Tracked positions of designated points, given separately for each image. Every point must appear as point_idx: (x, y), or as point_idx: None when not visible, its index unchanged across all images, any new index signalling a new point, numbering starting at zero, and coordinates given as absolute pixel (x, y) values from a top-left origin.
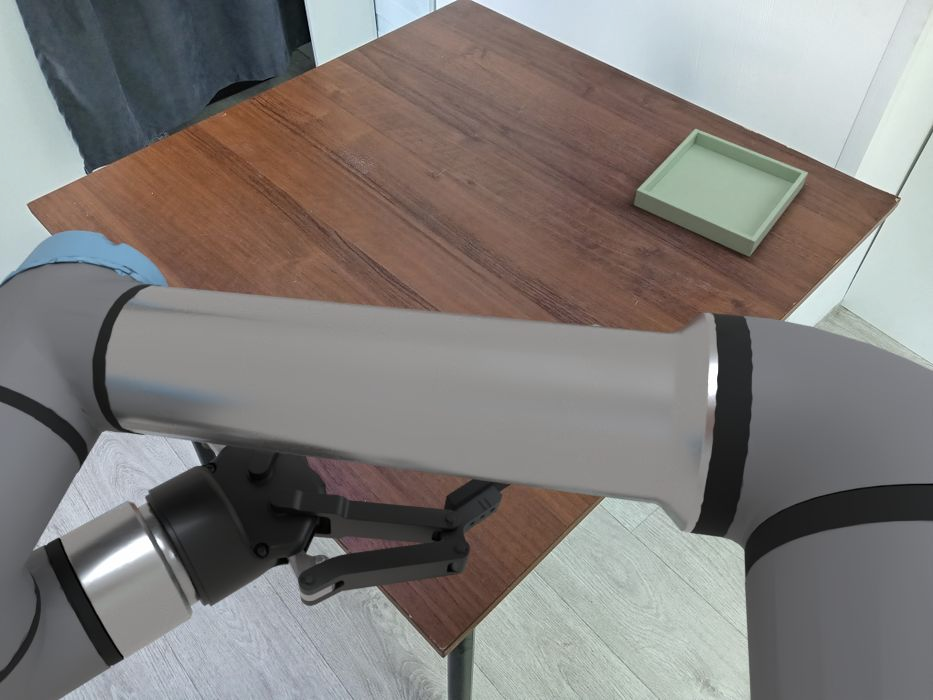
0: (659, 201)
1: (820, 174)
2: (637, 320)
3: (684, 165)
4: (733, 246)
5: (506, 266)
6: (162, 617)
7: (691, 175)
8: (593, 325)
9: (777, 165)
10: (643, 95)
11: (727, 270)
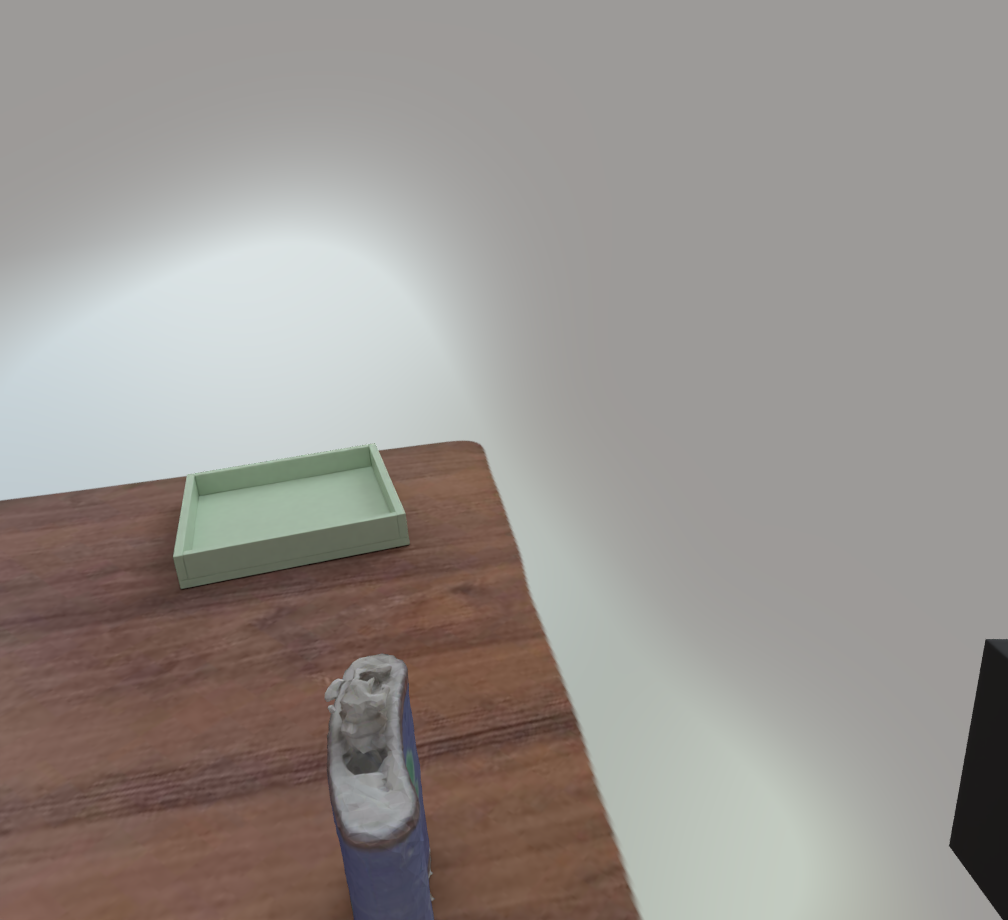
0: (223, 550)
1: (381, 453)
2: None
3: (210, 517)
4: (378, 544)
5: (5, 805)
6: None
7: (232, 519)
8: (355, 663)
9: (332, 455)
10: (66, 497)
11: (402, 570)
